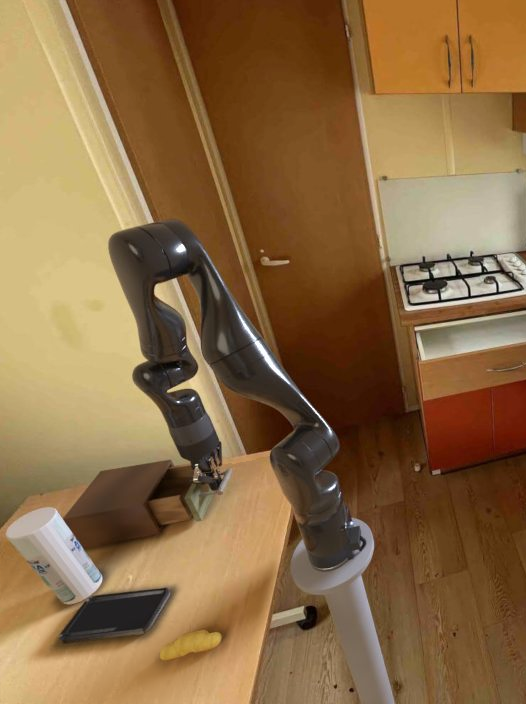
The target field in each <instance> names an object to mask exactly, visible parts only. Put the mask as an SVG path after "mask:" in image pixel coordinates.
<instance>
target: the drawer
mask: <svg viewBox="0 0 526 704" xmlns="http://www.w3.org/2000/svg"><path fill="white" fill-rule="evenodd" d="M219 474H220V476H222V481H221V483H220V485H219V487H218V490H215V491H212V490H211V488H210V486H209V484H204V485H198V484H192V483H190V482H189V479H190V478H191V477H193V476H194V470H192V468H191V462H190V463H184V464H179V465H174V466H172V467H169V468H168V469H167V471H166V473H165V474H164V476H163V477H162V479H161V481H160V482H159V484H158V486H157V487H156V489H155V490H154V492H153V494H152V495H151V497H150V499H149V500H148V502H147V504H146V505H147V507H148V508H149V510H150V512H151V514H152V515H153V517H154V519H155V521H156V523H157V524H158V526H159V525H164V524H165V525H168V524H169V525H170V524H174V523H179V522H184V521H189V520H191V519H192V517H193V519H194V520H195V522H201V521H203V519H204V516H205V514H206V512H207V510H208V508H209V506H210V503H211V501H212V499H213V497H214V495H217V496H221V495H223V494H224V492H225V490H226V488H227V485H228V483H229V481H230V478H231V476H232V474H233V469H232V468H227V469H225V471H220V473H219ZM165 525H164V526H165Z"/></svg>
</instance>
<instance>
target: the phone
mask: <svg viewBox="0 0 526 704" xmlns="http://www.w3.org/2000/svg"><path fill="white" fill-rule="evenodd" d="M170 596H171V591H170V589H169V588H167V587H161V588H152V589H141V590H131V591H125V592H114V593H105V594H96V595H91V596H89V597H87V598H86V599H85V601H84V602H83V603H82V605H81V606H80V607H79V609H78V610H77V611H76V613H75V614H74V615H73V617H72V618H71V619H70V620H69V622H68V623H67V624H66V626H65V627H64V629H63V630H62V631H61V632H60V634H59V635H58V639H59V641H60V643H62V644H70V643H79V642H88V641H97V640H105V639H112V638H113V639H114V638H121V637H129V636H131V637H132V636H138V635H144V634H146V633H147V632H149V630H150V629H151V628H152V627H153V626H154V624H155V622H156V621H157V619H158V617H159V615H160V614H161V612H162V610H163V609H164V607H165V605H167V603H168V600H169V598H170Z"/></svg>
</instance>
